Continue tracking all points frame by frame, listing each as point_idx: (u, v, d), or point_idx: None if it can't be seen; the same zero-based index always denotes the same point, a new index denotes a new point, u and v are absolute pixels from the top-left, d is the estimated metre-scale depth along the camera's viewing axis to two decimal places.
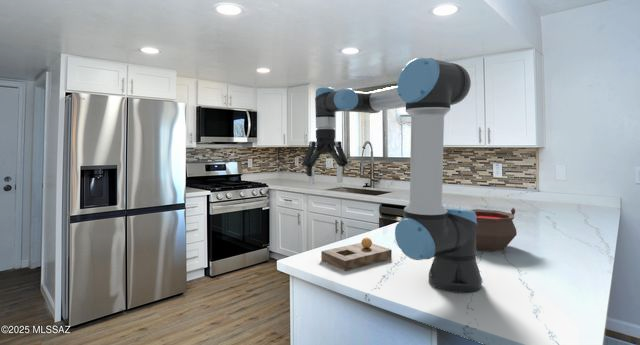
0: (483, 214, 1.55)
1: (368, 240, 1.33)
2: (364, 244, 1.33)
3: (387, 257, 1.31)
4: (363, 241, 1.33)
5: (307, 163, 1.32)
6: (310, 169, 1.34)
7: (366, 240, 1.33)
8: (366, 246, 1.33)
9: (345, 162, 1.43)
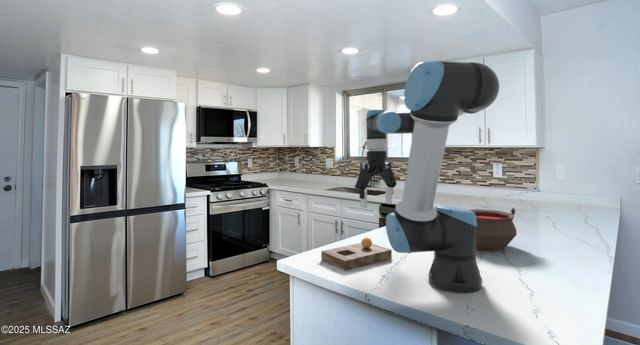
0: (483, 214, 1.55)
1: (368, 240, 1.33)
2: (364, 244, 1.33)
3: (387, 257, 1.31)
4: (363, 241, 1.33)
5: (361, 186, 1.31)
6: (363, 192, 1.32)
7: (366, 240, 1.33)
8: (366, 246, 1.33)
9: (394, 183, 1.41)
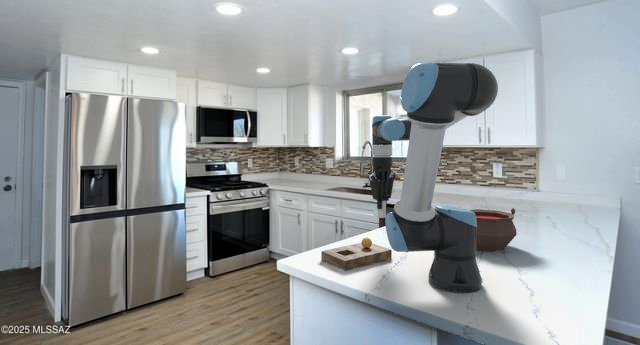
0: (483, 214, 1.55)
1: (368, 240, 1.33)
2: (364, 244, 1.33)
3: (387, 257, 1.31)
4: (363, 241, 1.33)
5: (378, 197, 1.35)
6: (380, 202, 1.37)
7: (366, 240, 1.33)
8: (366, 246, 1.33)
9: (389, 195, 1.38)
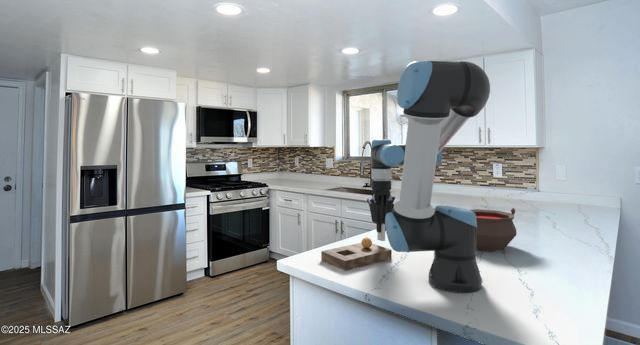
0: (483, 214, 1.55)
1: (368, 240, 1.33)
2: (364, 244, 1.33)
3: (387, 257, 1.31)
4: (363, 241, 1.33)
5: (377, 220, 1.35)
6: (380, 225, 1.37)
7: (366, 240, 1.33)
8: (366, 246, 1.33)
9: None
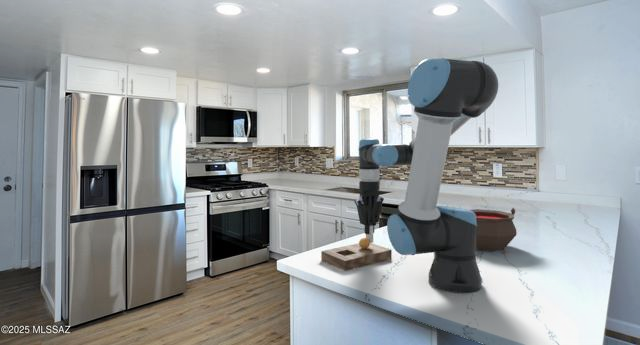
0: (483, 214, 1.55)
1: (364, 241, 1.32)
2: (362, 247, 1.32)
3: (387, 257, 1.31)
4: (360, 244, 1.32)
5: (365, 222, 1.32)
6: (368, 227, 1.34)
7: (363, 242, 1.32)
8: (365, 247, 1.32)
9: (376, 219, 1.35)
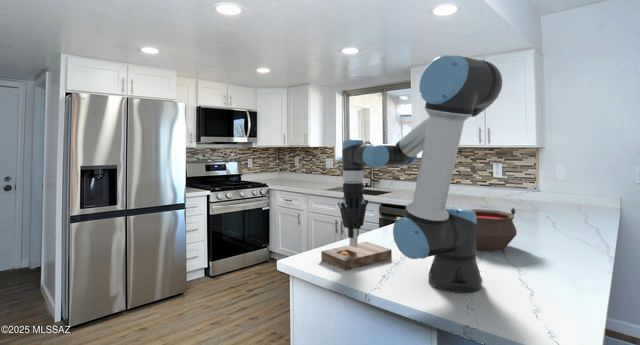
0: (483, 214, 1.55)
1: (347, 254, 1.28)
2: None
3: (387, 257, 1.31)
4: (342, 253, 1.28)
5: (348, 225, 1.27)
6: (352, 231, 1.29)
7: (345, 253, 1.27)
8: None
9: (361, 223, 1.30)
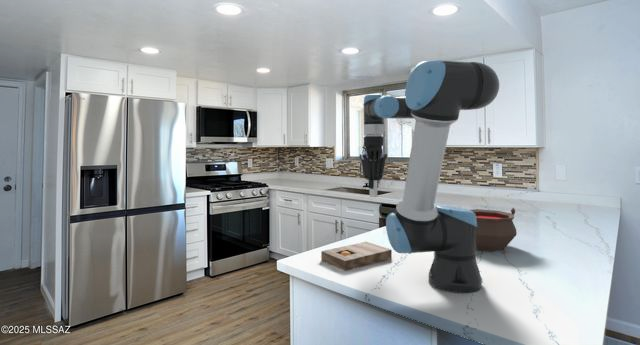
0: (483, 214, 1.55)
1: (349, 254, 1.28)
2: (344, 254, 1.27)
3: (387, 257, 1.31)
4: (344, 252, 1.28)
5: (369, 176, 1.35)
6: (372, 182, 1.37)
7: (347, 252, 1.28)
8: None
9: (380, 175, 1.38)
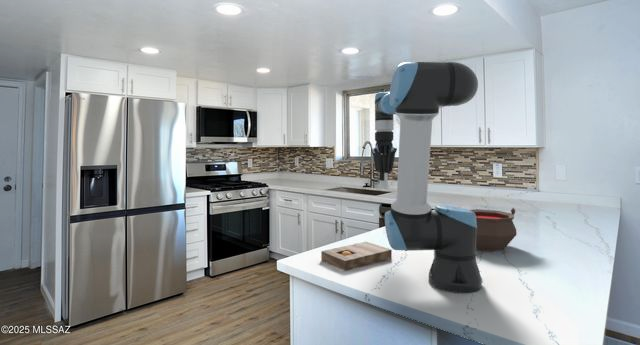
0: (483, 214, 1.55)
1: None
2: (345, 253, 1.28)
3: (387, 257, 1.31)
4: (346, 251, 1.29)
5: (380, 169, 1.44)
6: (383, 174, 1.46)
7: (349, 252, 1.29)
8: None
9: (390, 168, 1.48)
